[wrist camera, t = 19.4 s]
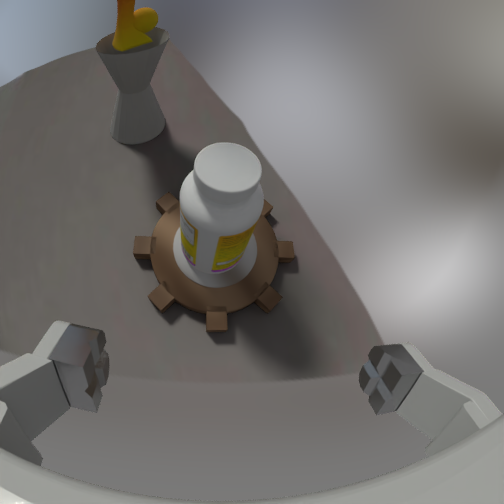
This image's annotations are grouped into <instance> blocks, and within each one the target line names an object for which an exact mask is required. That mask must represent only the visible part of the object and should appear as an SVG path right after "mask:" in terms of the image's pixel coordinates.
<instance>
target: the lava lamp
mask: <svg viewBox="0 0 504 504" xmlns="http://www.w3.org/2000/svg"><path fill="white" fill-rule="evenodd" d="M117 2H118V17H117V26H116V31H115V32H114V33H112V34H110V35H108V36H106V37H104V38H103V39H101V41H99V42H98V43H97V46H96V50H97V52H98V54H99V56H100V57H101V59H102V61H103V63H104V64H105V66H106V68H107V70H108V71H109V73H110V75H111V76H112V78H113V80H114V82H115V83H116V85H117V87H118V88H119V90H118V94H117V98H116V103H115V107H114V112H113V117H112V122H111V129H110V133H111V135H112V137H113V138H114V139H115V140H116V141H117V142H120V143H123V144H140V143H144V142H147V141H149V140H152V139H153V138H155V137H156V136H158V135H159V134H160V133H161V132H162V130H163V129H164V126H165V118H164V115H163V113H162V111H161V108H160V106H159V104H158V101H157V99H156V97H155V94H154V92H153V90H152V87H151V85H150V82H151V79H152V77H153V74H154V72H155V69H156V67H157V64H158V62H159V60H160V57H161V55H162V53H163V51H164V49H165V46H166V44H167V42H168V40H169V33H168V32H167V31H165V30H163V29H160V28H157V27H155V26H156V24H157V23H158V15H157V13H156V12H155V10H153V9H151V8H140V9H138V10H136V11H135V12H134V5H135V0H117Z"/></svg>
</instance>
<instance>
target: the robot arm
mask: <svg viewBox="0 0 504 504" xmlns="http://www.w3.org/2000/svg"><path fill="white" fill-rule="evenodd" d="M105 344H106V338H105V333H104V332H103V331H102V330H99V329H94V328H90V327H85V326H81V325H76V324H71V323H67V322H63V321H59V320H57V321H55V322H53V324H52V325H51V327H50V328H49V330H48V331H47V332H46V334H45V335H44V337H43V338H42V340H41V341H40V343H39V344H38V346H37V347H36V349H35V350H34V352H33V353H32V354H29V353H27V354H25V355H23V356H21V357H19V358H17V359H15V360H13V361H11V362H8V363H6V364H4V365H2V366H0V504H504V414H501V412H500V411H499V410H498V409H497V408H496V406H495V405H494V404H493V403H492V401H491V400H490V399H489V398H488V397H487V396H486V394H485V393H483V392H481V391H479V390H477V389H475V388H473V387H471V386H469V385H467V384H465V383H463V382H461V381H460V380H457V379H456V378H454V377H452V376H450V375H448V374H446V373H444V372H442V371H440V370H438V369H437V370H435V369H434V368H433V367H432V366H431V365H430V363H429V362H428V361H427V360H426V359H425V357H423V355H422V354H421V353H420V352H419V351H418V349H417V348H416V347H415V346H414V345H413V344H411V343H409V342H407V343H399V344H392V345H379V346H374V347H373V348H372V349H371V350H370V352H369V354H368V357H369V361H368V362H366V363H365V364H364V365H363V366H362V369H361V371H360V373H359V383H360V387H361V388H362V390H363V392H365V393H366V394H368V395H369V403H370V405H371V406H372V408H373V410H374V412H375V414H376V415H379V414H384V413H389V412H394V411H396V413H397V414H398V415H400V416H401V417H402V418H404V419H405V420H406V421H407V422H409V423H410V424H411V425H413V426H414V427H415V428H417V429H418V430H419V431H420V432H422V433H423V434H424V435H426V436H427V437H428V438H430V439H431V440H432V441H431V443H430V444H429V445H428V446H427V447H426V448H425V453H426V454H427V456H428V457H426V458H424V459H422V460H420V461H418V462H415V463H413V464H410V465H408V466H405V467H403V468H400V469H397V470H395V471H392V472H389V473H386V474H383V475H380V476H377V477H374V478H371V479H368V480H364V481H361V482H358V483H354V484H350V485H346V486H342V487H338V488H333V489H329V490H325V491H319V492H314V493H309V494H303V495H296V496H289V497H282V498H272V499H261V500H247V501H246V500H245V501H197V500H182V499H171V498H161V497H154V496H147V495H140V494H135V493H129V492H124V491H119V490H115V489H110V488H106V487H102V486H98V485H94V484H91V483H87V482H84V481H80V480H77V479H74V478H71V477H68V476H65V475H62V474H59V473H57V472H54V471H51V470H49V469H46V468H43V467H41V462H42V459H43V458H42V456H41V454H40V453H39V451H38V450H37V449H36V448H35V446H34V445H33V444H32V442H31V441H32V440H33V439H34V438H36V436H38V435H39V434H40V433H41V432H42V431H44V430H45V429H46V428H47V427H49V426H50V425H51V424H52V423H53V422H54V421H56V420H57V419H58V418H59V417H60V416H62V415H63V414H64V413H65V412H66V411H67V410H68V409H70V407H74V408H78V409H82V410H86V411H91V412H96V413H97V411H98V408H99V405H100V402H101V399H102V392H101V387H103V386H104V385H106V383H107V379H108V375H109V356H108V353H107V352H106V351H105V350H104V346H105Z"/></svg>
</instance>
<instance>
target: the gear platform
mask: <svg viewBox="0 0 504 504" xmlns="http://www.w3.org/2000/svg"><path fill="white" fill-rule="evenodd" d="M156 206H157V209H158V210H159V211H160V212H161V213H162V214H163V216H162V217H161V218H160V220H159V221H158V223H157V225H156V227H155V229H154V231H153V234H152V237H146V236H135V242H134V251H133V254H134V257H135V259H151V262H152V266H153V270H154V273H155V275H156V278H157V280H158V282H159V284H160V285H159V286H158V287H157V288H156V289H155V290H153V291H152V292H151V293H150V294H149V295H148V298H149V300H150V301H151V302H152V303H153V304H154V305H155V306H156V307H157V308H158V309H159V310H160V311H161V313H163V312H164V311H165V310H166V309H168V308H169V307H170V306H171V305H172V304H173V303H174V302H177V303H178V304H180V305H181V306H183V307H185V308H187V309H189V310H192V311H195V312H198V313H202V314H206V332H226V331H227V330H228V328H227V314H229V313H233V312H236V311H239V310H241V309H243V308H245V307H247V306H249V305H250V304H252V303H253V302H255V303H256V304H257V305H258V306H259V307H260V308H261V309H263V310H264V311H265V312H266V313H269V312H270V311H271V310H272V309H273V308H274V307H275V305H276V304H277V303H278V302H279V301H280V300H281V299H282V296H281V295H280V294H279V293H278V292H276V291H275V290H274V289H273V288H272V287H271V286H270V284H271V282H272V280H273V278H274V276H275V273H276V270H277V266H278V262H284V263H290V262H291V261H292V260H293V259H294V258H295V257H294V249H293V242H291V241H277V239H276V236H275V233H274V231H273V229H272V227H271V225H270V224H269V222H268V221H267V220H266V218H265V217H267V216H268V215H269V214H270V212H271V210H272V209H273V206H272V205H270V204H269V203H268V202H267V201H266V200H265V199H264V204H263V209H262V212H261V215H260V217H259V220H258V222H257V224H256V226H255V229H254V231H253V233H252V236H251V238H250V240H249V242H248V245H247V247H246V249H245V252H244V254H243V256H242V258H241V260H240V261H239V262H238V264H237V265H236V266H235V267H233V268H232V269H230V270H229V271H226V272H224V273H219V274H208V273H204V272H201V271H199V270H197V269H195V268H194V267H193V266H191V265H190V264H189V262H188V261H187V260H186V258H185V256H184V254H183V252H182V247H181V231H180V201H178V200H177V199H176V198H175V197H174V196H173V195H172V194H171V193H170V192H168V193H166V194H165V195H164V196H162V197H161V198H160V199H158V200H157V201H156Z"/></svg>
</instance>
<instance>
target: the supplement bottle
mask: <svg viewBox="0 0 504 504" xmlns="http://www.w3.org/2000/svg"><path fill="white" fill-rule="evenodd" d="M261 175H262V167H261V164H260V161H259V159H258V158H257V157H256V155H255V154H254V153H253V152H251V151H250V150H249V149H247V148H245V147H243V146H241V145H238V144H234V143H226V142H224V143H215V144H212V145H209V146H207V147H205V148H204V149H203V150H201V151H200V152H199V154H198V155H197V157H196V159H195V163H194V170H193V171H191V172H190V173H189V174H188V176H187V177H186V178H185V180H184V182H183V184H182V186H181V190H180V231H181V247H182V252H183V254H184V256H185V258H186V260H187V261H188V262H189V264H190V265H191V266H193V267H194V268H195V269H197V270H199V271H201V272H204V273H208V274H219V273H224V272H226V271H229V270H230V269H232V268H233V267H235V266H236V265H237V264H238V262H239V261H240V260H241V258H242V256H243V254H244V252H245V249H246V247H247V245H248V242H249V240H250V238H251V236H252V233H253V231H254V229H255V226H256V224H257V222H258V220H259V217H260V215H261V212H262V209H263V204H264V195H263V190H262V187H261V185H260V183H259V182H260V179H261Z"/></svg>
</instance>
